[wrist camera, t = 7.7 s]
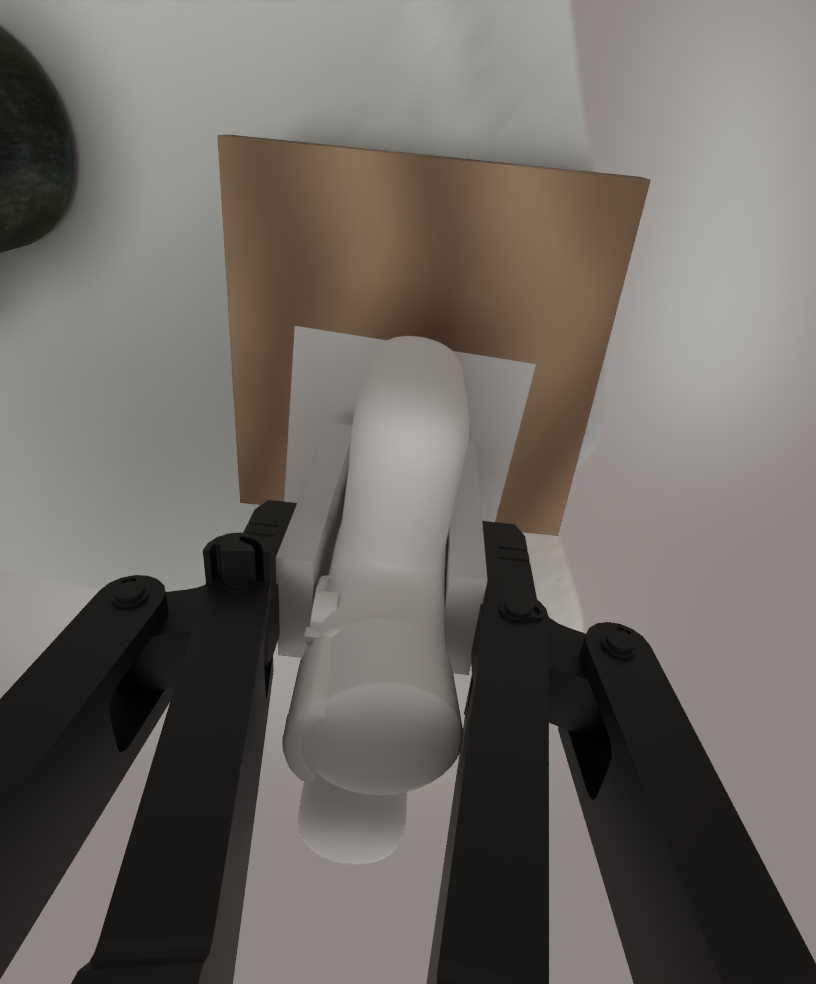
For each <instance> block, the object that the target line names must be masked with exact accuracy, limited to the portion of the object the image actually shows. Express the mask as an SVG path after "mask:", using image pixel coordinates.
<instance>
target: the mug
mask: <svg viewBox="0 0 816 984" xmlns="http://www.w3.org/2000/svg"><path fill="white" fill-rule="evenodd" d="M71 179H72V154H71V148H70V142H69V136H68V132H67V129H66V125H65V122H64V118H63V115H62V113H61V111H60V108H59V106H58V103H57V101H56V99H55V96H54V94H53V93H52V91H51V89H50V87H49V86H48V84H47V82H46V80H45V78H44V77H43V75H42V74H41V72H40V71H39V70H38V68H37V67H36V65H35V64H34V63H33V61H32V60H31V58H30V57H29V56H28V55H27V54H26V53H25V52H24V51H23V50H22V48H21V47H20V46H19V45H18V44H17V43H16V42H15V41H14V40H13V39H12V38H11V37H9V36H8V35H7V34H6V33H5V32H4V31H3V30H1V29H0V253H1V252H4V251H8V250H11V249H15V248H18V247H22V246H25V245H29V244H31V243H33V242H34V241H36V240H38V239H40V238H42V237H43V236H44V235H45V234H46V233H47V232H49V231H50V230H51V229H52V227H53V226H54V225H55V224H56V222H57V221H58V220H59V218H60V216H61V214H62V212H63V210H64V208H65V206H66V203H67V200H68V196H69V193H70V188H71Z"/></svg>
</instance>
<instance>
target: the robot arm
mask: <svg viewBox="0 0 816 984" xmlns="http://www.w3.org/2000/svg"><path fill="white" fill-rule="evenodd" d="M351 431H352V425H342V424H332V423H329V425H328V427H327V430H326V433H325V435H324V438H323V440H322V443H321V445H320V448H319V450H318V453H317V455H316V458H315V460H314V463H313V465H312V468H311V470H310V473H309V475H308V478H307V480H306V483H305V485H304V488H303V490H302V493H301V495H300V498H299V500H298V503H293V502H284V501H274V500H267V501H266V502H265V503H263V504H262V505H260V506H259V507H258V508H256V509H255V510H254V512H253V514H252V516H251V518H250V520H249V523H248V524H247V526H246V528H245V530H244V533H230V534H226V535H223V536H219V537H217V538H215V539H214V540H212V541H210V542H209V543H208V544H207V545H206V547H205V548H204V550H203V557H204V567H205V576H206V584H205V585H203V586H201V587H198V588H193V589H188V590H180V591H171V592H165V587H164V585H163V584H162V583H161V582H160V581H159V580H158V579H155V578H153V577H150V576H141V575H134V576H128V577H123V578H120V579H117V580H115V581H113V582H110V583H109V584H107V585H106V586H105V587H103V588H102V589H101V590H100V591H99V592H98V593H97V594H96V595H95V596H94V597H93V598H92V599H91V600H90V602H89V603H88V604H87V605H86V606H85V607H84V608H83V609H82V610H81V611H80V612H79V614H78V615H77V616H76V617H75V618H74V619H73V620H72V621H71V622H70V623H69V625H68V626H67V627H66V628H65V629H64V630H63V631H62V632H61V633H60V634H59V635H58V637H57V638H56V639H55V640H54V641H53V642H52V643H51V644H50V645H49V646H48V648H47V649H46V650H45V651H44V652H43V653H42V654H41V655H40V656H39V657H38V658H37V660H35V662H34V663H33V664H32V665H31V666H30V667H29V668H28V669H27V670H26V672H25V673H24V674H23V675H22V676H21V677H20V678H19V679H18V680H17V681H16V682H15V684H14V685H13V686H12V687H11V688H10V689H9V690H8V691H7V692H6V693H5V694H4V695H3V697H2V698H1V699H0V979H1V977H2V975H3V974H4V972H5V971H6V969H7V967H8V966H9V964H10V962H11V961H12V959H13V957H14V956H15V954H16V952H17V951H18V949H19V948H20V946H21V944H22V943H23V941H24V939H25V938H26V936H27V935H28V933H29V931H30V930H31V928H32V926H33V925H34V923H35V922H36V920H37V918H38V917H39V915H40V913H41V912H42V910H43V908H44V907H45V905H46V904H47V902H48V900H49V899H50V897H51V895H52V894H53V892H54V890H55V889H56V887H57V886H58V884H59V882H60V881H61V879H62V877H63V876H64V874H65V873H66V871H67V869H68V868H69V866H70V864H71V863H72V861H73V859H74V858H75V856H76V855H77V853H78V851H79V850H80V848H81V846H82V845H83V843H84V841H85V840H86V838H87V837H88V835H89V833H90V832H91V830H92V828H93V827H94V825H95V823H96V821H97V820H98V819H99V817H100V815H101V814H102V812H103V810H104V809H105V807H106V805H107V804H108V802H109V801H110V799H111V797H112V796H113V794H114V792H115V791H116V789H117V788H118V786H119V784H120V783H121V781H122V779H123V778H124V776H125V774H126V773H127V771H128V770H129V768H130V766H131V765H132V763H133V761H134V760H135V758H136V756H137V755H138V753H139V752H140V750H141V748H142V747H143V745H144V743H145V742H146V740H147V739H148V737H149V735H150V734H151V732H152V730H153V729H154V727H155V725H156V724H157V722H158V720H159V719H160V717H161V715H162V714H163V712H164V711H165V709H166V707H167V706H168V704H169V703H170V705H169V708H168V711H167V714H166V718H165V721H164V725H163V728H162V731H161V735H160V738H159V741H158V745H157V748H156V751H155V755H154V758H153V761H152V765H151V768H150V772H149V775H148V778H147V781H146V785H145V788H144V792H143V795H142V798H141V801H140V805H139V808H138V811H137V815H136V818H135V821H134V825H133V828H132V832H131V835H130V838H129V841H128V845H127V848H126V851H125V855H124V858H123V861H122V865H121V868H120V871H119V875H118V878H117V882H116V885H115V888H114V891H113V895H112V898H111V902H110V905H109V908H108V911H107V915H106V918H105V921H104V925H103V928H102V931H101V935H100V938H99V941H98V944H97V947H96V950H95V952H94V955H93V956H92V958H91V960H90V962H89V963H87V964H86V965H85V966H84V967H82V968H81V969H80V970H79V971H78V972H77V974H76V976H75V978H74V979H73V981H72V983H71V984H233V978H234V970H235V963H236V955H237V947H238V940H239V932H240V924H241V916H242V909H243V901H244V893H245V885H246V877H247V870H248V863H249V854H250V847H251V840H252V832H253V824H254V817H255V809H256V801H257V794H258V786H259V778H260V770H261V763H262V755H263V748H264V740H265V732H266V725H267V716H268V709H269V701H270V694H271V685H272V679H273V654H274V651H275V648H276V644H277V641H278V655H282V656H292V657H301V658H302V657H303V655H304V653H305V651H306V650H307V648H308V647H309V646H307V644H306V641H305V637H304V634H305V631H306V627H309V628H310V621H311V614H312V608H313V603H314V598H315V592H316V587H317V583H318V579H319V578H320V577H321V576H327V575H328V576H329V573H330V568H331V563H332V558H333V554H334V549H335V545H336V540H337V536H338V533H339V529H340V526H341V523H342V519H343V510H344V502H345V493H346V485H347V476H348V467H349V457H350V442H351ZM445 640H446V651H447V653H448V655H449V658H450V661H451V665H452V670H453V673H456V674H464V675H469V670H470V666H471V664H472V677H471V682H470V687H469V692H468V697H467V702H466V707H465V712H464V714H465V720H464V727H463V742H462V747H461V751H460V755H459V762H458V769H457V775H456V782H455V789H454V796H453V803H452V811H451V817H450V824H449V831H448V838H447V845H446V852H445V859H444V867H443V874H442V881H441V887H440V894H439V901H438V908H437V915H436V922H435V929H434V936H433V943H432V949H431V956H430V963H429V970H428V977H427V984H549V723H551V724H554V725H557V726H558V731H559V734H560V738H561V741H562V744H563V748H564V751H565V754H566V758H567V761H568V764H569V768H570V771H571V774H572V778H573V781H574V785H575V788H576V791H577V795H578V798H579V801H580V805H581V808H582V811H583V815H584V818H585V821H586V825H587V828H588V832H589V835H590V838H591V842H592V845H593V848H594V852H595V855H596V858H597V862H598V865H599V868H600V872H601V875H602V879H603V882H604V885H605V889H606V892H607V895H608V899H609V902H610V905H611V909H612V912H613V916H614V919H615V922H616V926H617V929H618V932H619V936H620V939H621V942H622V946H623V949H624V952H625V956H626V959H627V963H628V966H629V969H630V973H631V976H632V979H633V983H634V984H816V963H815V961H814V959H813V957H812V956H811V953H810V952H809V950H808V948H807V946H806V944H805V942H804V940H803V938H802V936H801V935H800V932H799V930H798V928H797V927H796V925H795V923H794V921H793V919H792V917H791V915H790V913H789V911H788V909H787V907H786V906H785V904H784V902H783V900H782V898H781V896H780V894H779V892H778V890H777V888H776V886H775V884H774V883H773V880H772V879H771V877H770V875H769V873H768V871H767V869H766V867H765V865H764V863H763V861H762V859H761V858H760V855H759V854H758V852H757V850H756V848H755V846H754V844H753V842H752V840H751V838H750V836H749V835H748V832H747V830H746V829H745V827H744V825H743V823H742V821H741V819H740V817H739V815H738V813H737V811H736V809H735V807H734V806H733V804H732V802H731V800H730V798H729V796H728V794H727V792H726V790H725V788H724V786H723V784H722V782H721V781H720V779H719V777H718V775H717V773H716V771H715V770H714V767H713V765H712V763H711V761H710V759H709V757H708V756H707V754H706V752H705V750H704V748H703V746H702V744H701V742H700V740H699V738H698V736H697V734H696V733H695V731H694V729H693V727H692V725H691V723H690V721H689V719H688V717H687V715H686V713H685V711H684V709H683V708H682V706H681V704H680V702H679V700H678V698H677V696H676V694H675V692H674V690H673V688H672V686H671V684H670V683H669V681H668V679H667V677H666V675H665V673H664V671H663V669H662V668H661V665H660V663H659V661H658V660H657V658H656V656H655V654H654V652H653V650H652V648H651V646H650V645H649V643H648V642H647V641H646V640H645V639H644V638H643V636H641V635H640V634H639V633H637V632H636V631H634V630H633V629H631V628H628V627H626V626H624V625H621V624H617V623H611V622H605V623H597V624H595V625H593V626H592V627H590V628H589V629H588V631H587V633H586V634H585V633H582V632H579V631H576V630H573V629H570V628H567V627H565V626H563V625H560V624H558V623H557V622H555V621H554V620H552V619H550V618H549V617H548V614H547V610H546V608H545V607H544V606H543V605H542V604H541V602H540V601H538V600H537V597H536V592H535V587H534V581H533V576H532V571H531V565H530V563H529V555H528V552H527V544H526V539H525V536H524V535H523V533H522V532H521V531H520V530H519V529H518V527H517V526H516V525H515V524H509V523H499V522H490V521H482V513H481V502H480V491H479V480H478V468H477V457H476V446H475V438H469V439H468V446H467V451H466V456H465V461H464V465H463V469H462V473H461V477H460V482H459V486H458V490H457V495H456V500H455V504H454V509H453V513H452V518H451V522H450V527H449V531H448V536H447V540H446V572H445Z"/></svg>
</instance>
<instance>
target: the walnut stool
mask: <svg viewBox="0 0 816 984" xmlns="http://www.w3.org/2000/svg"><path fill="white" fill-rule="evenodd" d="M218 150H219V166H220V182H221V198H222V214H223V230H224V246H225V263H226V279H227V295H228V311H229V327H230V343H231V359H232V375H233V391H234V408H235V424H236V440H237V456H238V472H239V488H240V503H248V504H258V505H262V504H263V503H265V502H266V501H267V500H274V501H284V495H285V479H286V462H287V446H288V429H289V412H290V396H291V379H292V363H293V346H294V330H295V326H300V327H306V328H312V329H318V330H325V331H331V332H337V333H343V334H350V335H356V336H362V337H369V338H375V339H381V340H389V339H392V338H395V337H401V336H417V337H424V338H428V339H432V340H434V341H437V342H440V343H441V344H443V345H445V346H447V347H448V348H449V349H451V350H452V351H456V352H463V353H469V354H475V355H482V356H488V357H494V358H500V359H507V360H513V361H519V362H525V363H532V364H536V367H535V370H534V374H533V378H532V382H531V386H530V389H529V393H528V397H527V401H526V405H525V409H524V412H523V416H522V420H521V424H520V428H519V431H518V435H517V439H516V443H515V447H514V451H513V454H512V458H511V462H510V466H509V470H508V473H507V477H506V481H505V485H504V489H503V493H502V496H501V500H500V504H499V508H498V512H497V515H496V519H495V522H499V523H509V524H515V525H516V526H517V527H518V529H519V530H520V531H521V532H526V533H536V534H545V535H555V536H558V533H559V530H560V526H561V521H562V518H563V514H564V510H565V506H566V502H567V499H568V495H569V491H570V487H571V483H572V480H573V476H574V472H575V468H576V464H577V460H578V457H579V453H580V449H581V445H582V441H583V437H584V434H585V430H586V426H587V422H588V418H589V414H590V411H591V407H592V403H593V399H594V395H595V391H596V388H597V384H598V380H599V376H600V372H601V368H602V364H603V361H604V357H605V353H606V349H607V345H608V341H609V338H610V334H611V330H612V326H613V322H614V318H615V315H616V311H617V307H618V303H619V299H620V295H621V292H622V287H623V284H624V280H625V276H626V272H627V268H628V264H629V261H630V257H631V253H632V249H633V245H634V241H635V237H636V234H637V230H638V226H639V222H640V218H641V215H642V210H643V207H644V203H645V199H646V196H647V192H648V188H649V184H650V179H646V178H642V177H636V176H626V175H617V174H607V173H597V172H587V171H578V170H568V169H558V168H548V167H539V166H529V165H519V164H509V163H500V162H490V161H480V160H471V159H461V158H451V157H441V156H432V155H422V154H412V153H402V152H393V151H383V150H373V149H363V148H354V147H344V146H334V145H325V144H315V143H305V142H295V141H286V140H276V139H266V138H256V137H247V136H237V135H218Z"/></svg>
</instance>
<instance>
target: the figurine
mask: <svg viewBox="0 0 816 984" xmlns="http://www.w3.org/2000/svg"><path fill="white" fill-rule="evenodd" d="M535 367H536V364H532V363H525V362H519V361H513V360H507V359H500V358H494V357H488V356H482V355H475V354H469V353H463V352H456V351H452V350H451V349H449V348H448V347H447V346H445V345H443V344H441V343H440V342H437V341H434V340H432V339H428V338H424V337H417V336H401V337H395V338H392V339H389V340H381V339H375V338H369V337H362V336H356V335H350V334H343V333H337V332H331V331H325V330H318V329H312V328H306V327H300V326H295V330H294V346H293V363H292V379H291V396H290V412H289V429H288V446H287V462H286V479H285V495H284V502H293V503H298V500H299V498H300V495H301V493H302V490H303V488H304V485H305V483H306V480H307V478H308V475H309V473H310V470H311V468H312V465H313V463H314V460H315V458H316V455H317V453H318V450H319V448H320V445H321V443H322V440H323V438H324V435H325V433H326V430H327V427H328V425H329V423H332V424H342V425H352V431H351V442H350V457H349V467H348V476H347V485H346V493H345V502H344V510H343V519H342V523H341V526H340V529H339V533H338V536H337V540H336V545H335V549H334V554H333V558H332V563H331V568H330V573H329V576H328V575H327V576H321V577H320V578H319V579H318V583H317V587H316V592H315V598H314V603H313V608H312V614H311V621H310V628H309V627H306V631H305V634H304V637H305V641H306V644H307V646H309V647H308V648H307V650H306V651H305V653H304V655H303V657H302V659H301V661H300V665H299V669H298V673H297V678H296V682H295V687H294V691H293V696H292V701H291V705H290V709H289V714H288V715H287V719H286V725H285V730H284V735H283V752H284V755H285V758H286V761H287V763H288V765H289V768H290V769H291V770H292V771H293V772H294V773H295V775H296V776H297V777H298V778H299V779H301V780H302V781H304V785H303V790H302V795H301V800H300V806H299V829H300V834H301V836H302V839H303V841H304V842H305V844H306V845H307V846H308V847H309V848H310V849H311V850H312V851H313V852H314V853H316V854H317V855H319V856H321V857H323V858H325V859H328V860H331V861H334V862H338V863H344V864H355V865H356V864H368V863H374V862H377V861H380V860H382V859H384V858H386V857H388V856H389V855H390V854H391V853H392V852H393V851H394V850H395V849H396V848H397V847H398V845H399V843H400V841H401V839H402V837H403V834H404V830H405V824H406V810H407V792H408V791H411V790H415V789H417V788H420V787H423V786H425V785H427V784H429V783H431V782H433V781H434V780H436V779H437V778H439V777H440V776H442V775H443V774H444V773H445V772H446V771H447V770H448V769H449V768H450V767H451V766H452V764H453V763H454V762H455V760H456V759H457V757H458V755H459V753H460V751H461V747H462V742H463V728H462V723H461V716H460V711H459V705H458V699H457V694H456V688H455V683H454V676H453V670H452V665H451V661H450V658H449V655H448V653H447V651H446V640H445V572H446V540H447V536H448V531H449V527H450V522H451V518H452V513H453V509H454V504H455V500H456V495H457V490H458V486H459V482H460V477H461V473H462V469H463V465H464V461H465V456H466V451H467V446H468V439H469V438H475V446H476V457H477V468H478V480H479V491H480V502H481V513H482V521H490V522H495V519H496V515H497V512H498V508H499V504H500V500H501V496H502V493H503V489H504V485H505V481H506V477H507V473H508V470H509V466H510V462H511V458H512V454H513V451H514V447H515V443H516V439H517V435H518V431H519V428H520V424H521V420H522V416H523V412H524V409H525V405H526V401H527V397H528V393H529V389H530V386H531V382H532V378H533V374H534V370H535Z"/></svg>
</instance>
